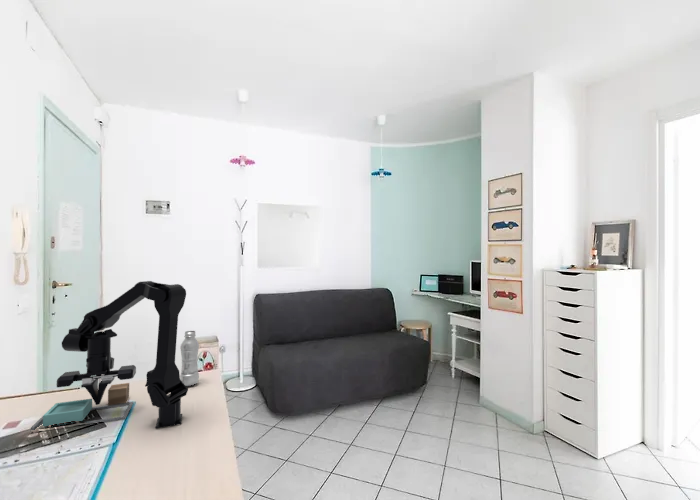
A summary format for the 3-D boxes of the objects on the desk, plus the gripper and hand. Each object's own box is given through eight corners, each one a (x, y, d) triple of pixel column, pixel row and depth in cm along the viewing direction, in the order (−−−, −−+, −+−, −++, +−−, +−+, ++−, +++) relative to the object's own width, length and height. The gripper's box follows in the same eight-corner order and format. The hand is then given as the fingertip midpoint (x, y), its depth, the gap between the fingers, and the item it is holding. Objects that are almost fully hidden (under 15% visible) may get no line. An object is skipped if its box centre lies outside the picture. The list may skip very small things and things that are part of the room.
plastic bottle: (202, 382, 132) (203, 330, 132) (192, 389, 125) (193, 333, 125) (186, 381, 132) (187, 329, 133) (175, 388, 125) (176, 333, 126)
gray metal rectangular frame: (125, 419, 101) (125, 413, 101) (30, 433, 93) (30, 427, 93) (133, 403, 112) (133, 398, 112) (49, 415, 104) (49, 409, 104)
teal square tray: (82, 423, 98) (82, 410, 98) (42, 429, 95) (43, 415, 95) (92, 410, 107) (92, 398, 107) (55, 415, 103) (56, 403, 103)
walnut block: (126, 403, 113) (126, 387, 113) (107, 405, 111) (108, 390, 111) (129, 397, 117) (129, 382, 117) (111, 399, 115) (112, 384, 115)
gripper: (139, 343, 115) (138, 390, 115) (70, 349, 108) (69, 399, 107) (132, 351, 105) (132, 402, 104) (56, 358, 97) (55, 414, 97)
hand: (98, 404), depth 103 cm, fingers closed
